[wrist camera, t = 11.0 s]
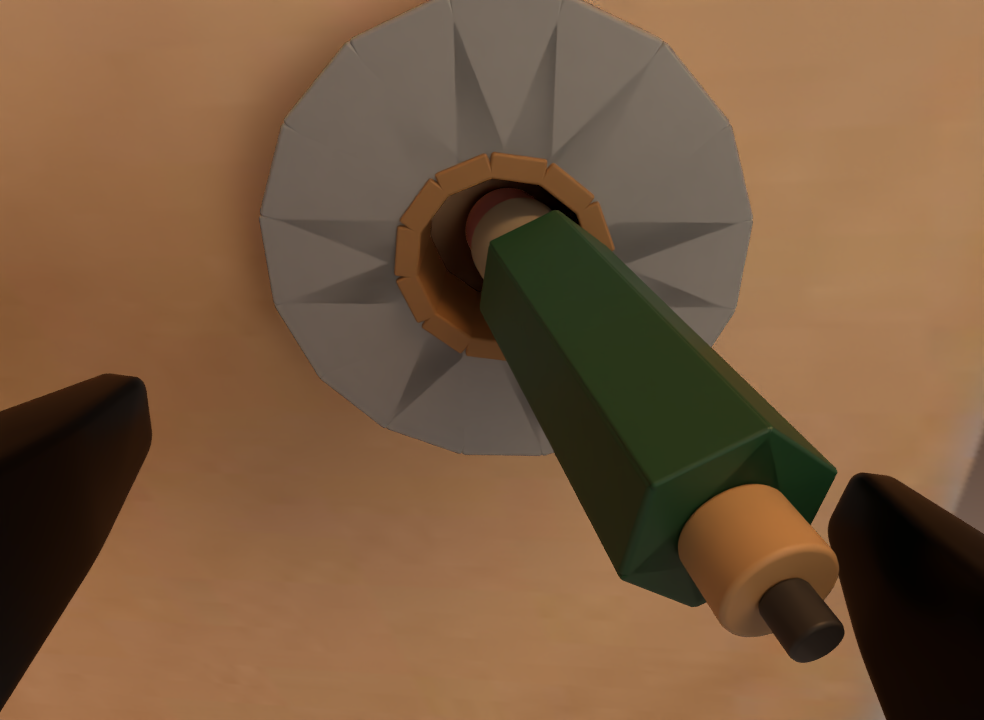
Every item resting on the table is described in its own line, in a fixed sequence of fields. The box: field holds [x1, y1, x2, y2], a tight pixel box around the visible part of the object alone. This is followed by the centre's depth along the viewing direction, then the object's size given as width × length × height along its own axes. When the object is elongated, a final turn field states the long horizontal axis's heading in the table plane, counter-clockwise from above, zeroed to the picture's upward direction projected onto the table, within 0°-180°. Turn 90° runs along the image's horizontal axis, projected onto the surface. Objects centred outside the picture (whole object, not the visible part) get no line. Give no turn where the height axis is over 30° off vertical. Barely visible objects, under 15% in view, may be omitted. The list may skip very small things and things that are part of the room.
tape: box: [259, 0, 753, 456], centre depth 15 cm, size 10×10×3 cm
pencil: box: [465, 188, 844, 663], centre depth 11 cm, size 2×3×12 cm
